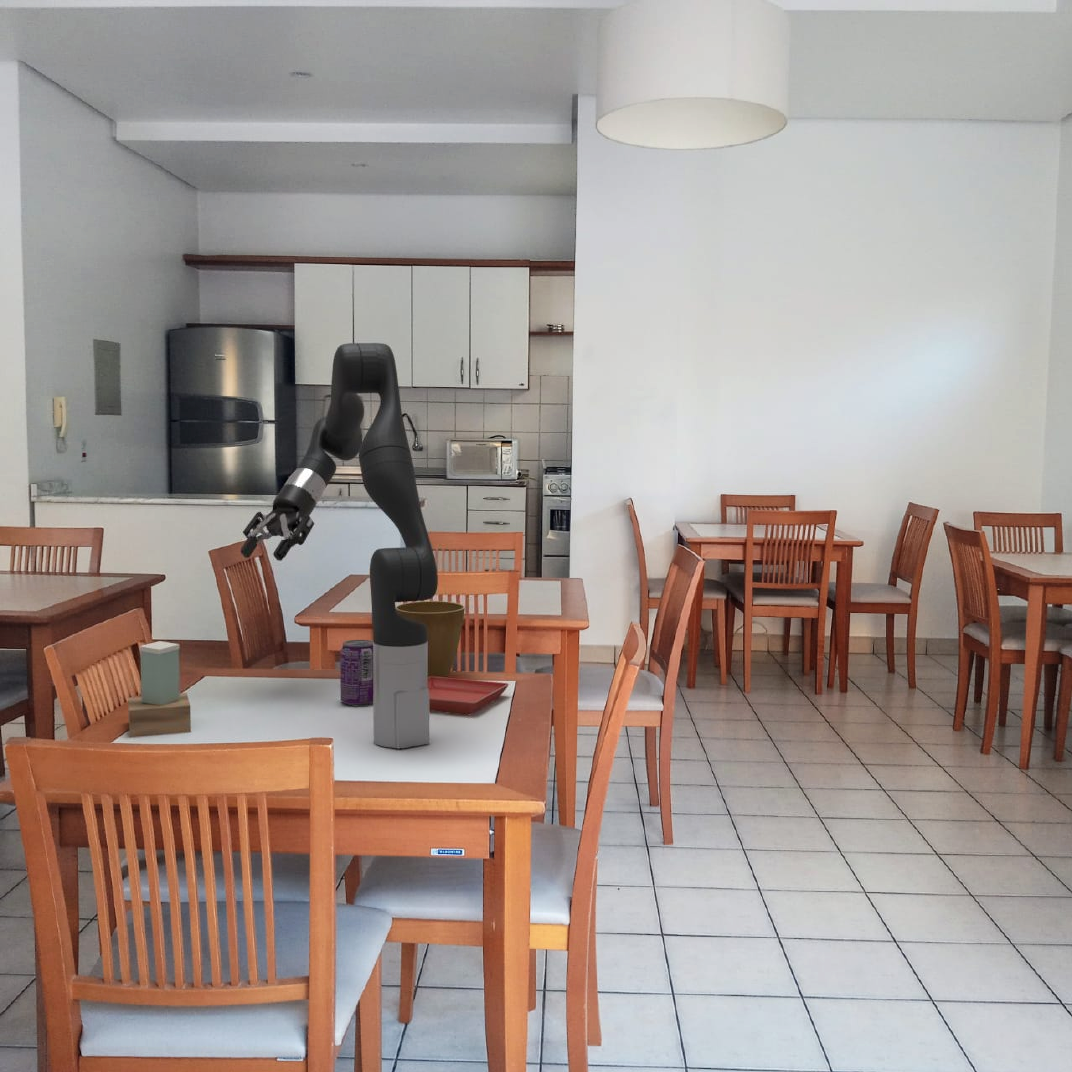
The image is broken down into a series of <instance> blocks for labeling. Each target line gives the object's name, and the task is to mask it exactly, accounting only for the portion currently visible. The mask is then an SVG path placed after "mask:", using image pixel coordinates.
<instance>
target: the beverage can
mask: <svg viewBox="0 0 1072 1072" xmlns="http://www.w3.org/2000/svg"><path fill="white" fill-rule="evenodd" d="M339 653H340V654H339V657H340V658H339V659H340V662H339V663H340V664H339V667H340V668H339V669H340V670H339V671H340V676H339V677H340V678H339V679H340V680H339V681H340V684H339V686H340V693H339V694H340V701H341V702H343V703H345V704H346V705H348V706H352V705H355V706H356V705H357V706H358V707H361V706H360V705H362V706H368V705H371V704H372V703H373V640H369V639H351V640H345V641H343V642H342V647H341V649H340V651H339ZM370 703H371V704H370ZM367 704H368V705H367Z"/></svg>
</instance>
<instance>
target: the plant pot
mask: <svg viewBox="0 0 1072 1072" xmlns="http://www.w3.org/2000/svg"><path fill="white" fill-rule="evenodd" d="M395 606H396V611H397V613H398V614H400V615H401V616H403V617H405V618H408V619H411V620H415V621H418V622H421V623H423V624H425V625H426V627H427V630H428V677H444V678H449V676H450V673H451V670H452V667H453V665H454V662H455V660H456V659H455V658H456V655H457V652H458V647H459V643H460V639H461V634H462V628H463V623H464V616H465V611H466V609H465V608H466V606H465V605H464V604H462V603H458V602H453V601H443V600H423V601H411V602H403V603H400V604H398V605H395Z"/></svg>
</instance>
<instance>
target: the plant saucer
mask: <svg viewBox="0 0 1072 1072" xmlns="http://www.w3.org/2000/svg"><path fill="white" fill-rule="evenodd" d="M509 684H510V683H507V682H499V681H498V682H497V681H488V680H477V679H476V680H475V679H466V678H463V679H462V678H454V677H448V678H444V677H428V689H429V712H436V713H446V712H449V713H448V714H455V713H458V714H457V715H465V714H466V715H465V716H468V715H469V714H470V715H472V714H474V713H476V712H477V711H479V710H481V709H482V708H485V707H486V706H488V705H489V704H491V703H493V702H495V701H496V700H498V699H499V698H500V697H501V696H502V695H503V694H504V692H505V691H506V690H507V688H508V687H509ZM492 701H493V702H492ZM470 715H469V716H470Z"/></svg>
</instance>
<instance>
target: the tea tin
mask: <svg viewBox="0 0 1072 1072" xmlns="http://www.w3.org/2000/svg"><path fill="white" fill-rule="evenodd" d="M180 646H181V645H180V644H179V643H174V642H168V641H162V640H159V641H156V642H151V643H147V644H143V645H140V646H139V651H140V680H141V681H140V682H141V683H140V687H141V688H140V689H141V690H140V691H141V694H140V695H141V697H142V702H144V703H149V704H154V705H159V706H162V705H165V704H168V703H171V702H174V701H177V700H180V693H181V691H180Z"/></svg>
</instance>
